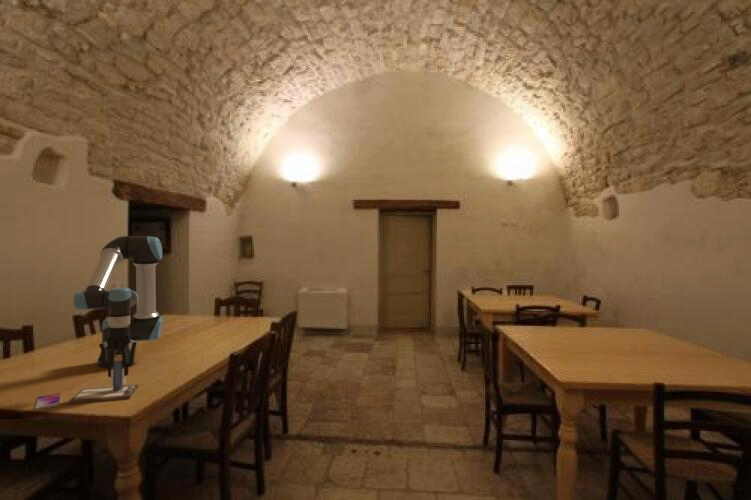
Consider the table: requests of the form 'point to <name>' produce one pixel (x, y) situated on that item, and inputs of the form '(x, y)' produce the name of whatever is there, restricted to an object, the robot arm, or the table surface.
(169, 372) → the table surface
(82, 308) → the robot arm
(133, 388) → the clipboard
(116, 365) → the blue cylinder
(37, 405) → the smartphone
